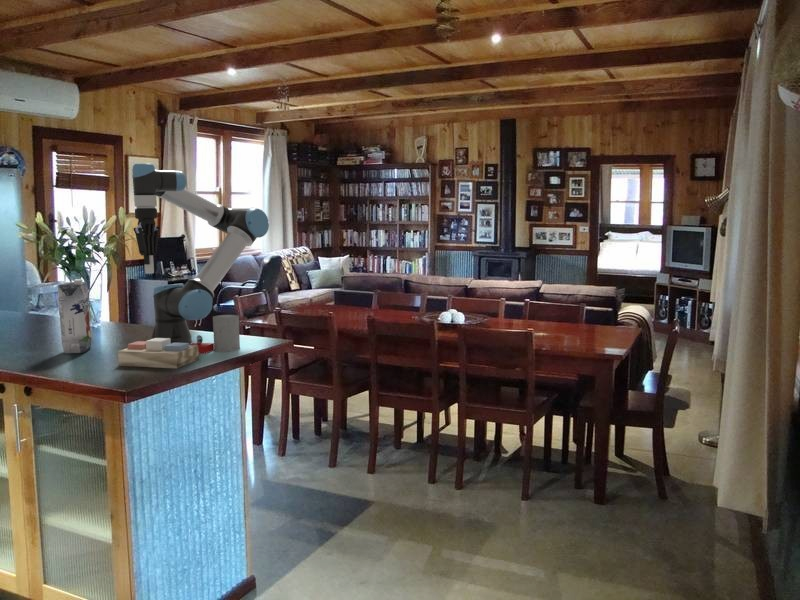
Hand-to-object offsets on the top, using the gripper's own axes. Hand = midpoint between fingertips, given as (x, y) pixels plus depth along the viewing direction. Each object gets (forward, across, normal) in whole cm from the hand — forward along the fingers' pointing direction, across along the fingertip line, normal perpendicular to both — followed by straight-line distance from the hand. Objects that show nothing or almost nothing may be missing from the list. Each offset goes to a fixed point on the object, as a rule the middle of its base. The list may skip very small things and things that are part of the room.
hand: (149, 273), depth 255 cm
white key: (+24, +14, +11) cm, 30 cm away
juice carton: (+30, +2, -31) cm, 43 cm away
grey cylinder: (+30, -12, +23) cm, 39 cm away
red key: (+26, +14, +4) cm, 30 cm away
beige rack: (+29, +14, +11) cm, 34 cm away
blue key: (+26, +14, +18) cm, 34 cm away
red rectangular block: (+30, -6, +15) cm, 34 cm away
